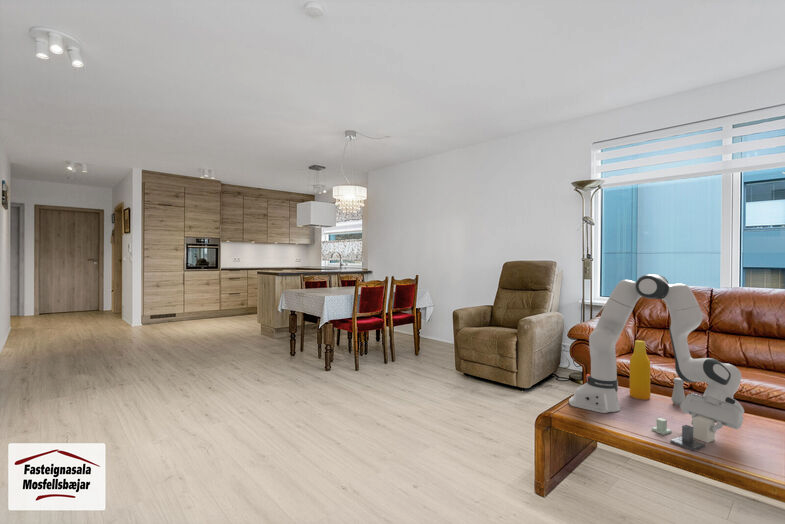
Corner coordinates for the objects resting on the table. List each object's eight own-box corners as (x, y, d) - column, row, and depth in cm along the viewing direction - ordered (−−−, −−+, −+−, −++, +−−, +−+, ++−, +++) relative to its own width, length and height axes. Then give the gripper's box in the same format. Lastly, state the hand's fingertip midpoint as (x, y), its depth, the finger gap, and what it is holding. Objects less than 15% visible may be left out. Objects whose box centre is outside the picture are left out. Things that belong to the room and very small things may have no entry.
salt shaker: (688, 407, 192) (688, 380, 192) (674, 406, 193) (675, 379, 193) (682, 403, 198) (682, 377, 198) (669, 402, 199) (669, 376, 199)
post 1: (664, 434, 163) (664, 422, 163) (651, 430, 168) (651, 418, 168) (671, 432, 166) (671, 420, 165) (659, 427, 170) (659, 416, 170)
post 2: (693, 451, 150) (693, 432, 150) (670, 442, 157) (670, 424, 157) (705, 446, 153) (705, 428, 153) (682, 438, 160) (682, 420, 160)
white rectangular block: (707, 442, 156) (707, 422, 156) (692, 437, 161) (692, 417, 161) (714, 440, 159) (714, 420, 158) (700, 434, 163) (700, 415, 163)
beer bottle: (653, 397, 206) (654, 341, 205) (644, 401, 201) (645, 343, 200) (635, 392, 213) (635, 338, 213) (625, 395, 209) (626, 340, 208)
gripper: (685, 387, 172) (671, 414, 168) (743, 403, 153) (729, 433, 149) (691, 396, 174) (678, 422, 170) (749, 412, 155) (736, 443, 151)
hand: (702, 428), depth 160 cm, fingers closed on white rectangular block, 5 cm apart
